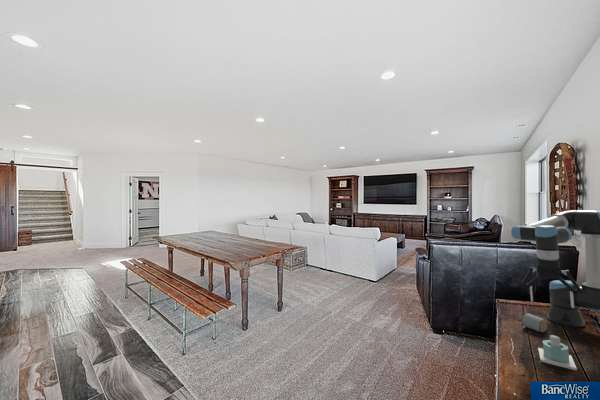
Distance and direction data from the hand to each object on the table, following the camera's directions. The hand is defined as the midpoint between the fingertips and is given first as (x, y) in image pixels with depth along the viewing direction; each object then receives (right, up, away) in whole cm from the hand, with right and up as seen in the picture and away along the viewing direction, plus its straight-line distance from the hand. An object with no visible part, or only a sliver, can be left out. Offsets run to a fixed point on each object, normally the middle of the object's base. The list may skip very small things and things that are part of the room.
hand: (551, 303), depth 119 cm
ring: (-3, -22, -5) cm, 22 cm away
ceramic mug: (+13, -23, +21) cm, 34 cm away
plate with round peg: (-3, -23, -5) cm, 24 cm away
